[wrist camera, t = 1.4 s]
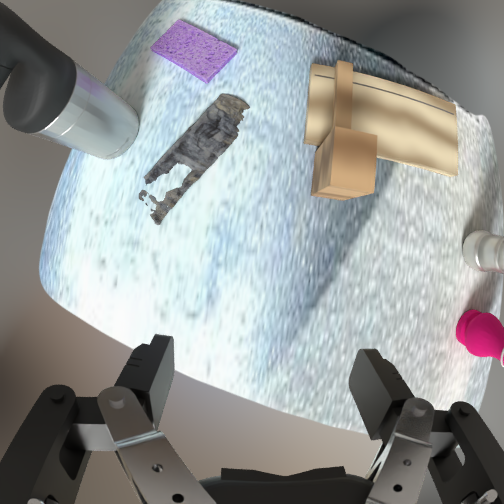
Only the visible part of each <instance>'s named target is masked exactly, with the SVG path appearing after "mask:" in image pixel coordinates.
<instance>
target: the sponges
mask: <svg viewBox="0 0 504 504" xmlns="http://www.w3.org/2000/svg"><path fill="white" fill-rule="evenodd" d="M150 48H151V50H152V51H153V52H155V53H157V54H159V55H161V56H162V57H164V58H166V59H168V60H169V61H171V62H173V63H175V64H176V65H178V66H180V67H181V68H183V69H185V70H186V71H188V72H190V73H191V74H192V75H194V76H195V77H197V78H199V79H200V80H202V81H203V82H205V83H206V84H208V83H209V82H210V81H211V80H212V78H213V77H214V76H215V75H216V74H217V73H218V72H219V71H220V70H221V69H222V68H223V67H224V66H225V65H226V64H227V63H228V62H229V61H230V60H231V59H232V58H233V57H234V56H235V55H236V54H237V49H236V48H234V47H232V46H230V45H228V44H226V43H224V42H223V41H219V40H218V39H217V38H215V37H213V36H212V35H209V34H208V33H205V32H204V31H202V30H200V29H198V28H196V27H194V26H192V25H190V24H188V23H186V22H184V21H182V20H178V21H176V22H175V24H173V25H172V26H171V27H170V28H169V29H168V30H167V32H166V33H165V34H164V35H163V36H162V37H160V39H158V41H156V42H155V43H154V44H153V45H152V46H151V47H150Z"/></svg>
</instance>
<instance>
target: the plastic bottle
mask: <svg viewBox="0 0 504 504" xmlns="http://www.w3.org/2000/svg"><path fill="white" fill-rule="evenodd" d="M463 257H464V259H465V262H466V264H467V265H468V266H469V267H471V268H472V269H474V270H476V271H481V272H488V271H490V272H498V273H502V274H504V236H500V235H495V234H492V233H490V232H487V231H484V230H478V231H474V232H471V233H470V234H469V235H468V236H467V238H466V239H465V241H464V244H463Z"/></svg>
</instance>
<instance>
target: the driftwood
mask: <svg viewBox="0 0 504 504" xmlns="http://www.w3.org/2000/svg"><path fill="white" fill-rule="evenodd" d="M249 108H250V107H249V106H248V105H247V104H246V103H245V102H243V101H242V100H239V99H238V98H235V97H232V96H230V95H227V94H226V95H225V94H221V95H220V96H219V98H218V99H217V100H216V101H215V102H214V103H213V104H212V105H211V106H210V107H209V108H208V109H207V110H206V111H205V112H204V113H203V114H202V115H201V117H200V118H199V119H198V121H197V122H196V123H195V124H194V125H193V126H192V127H189V129H188V130H187V131H186V132H185V134H184V135H183V136H182V137H181V138H180V139H179V140H178V141H177V142H176V143H175V144H174V145H173V146H172V147H171V148H170V149H169V150H168V151H167V153H165V154H164V156H163V157H161V159H160V160H159V161H158V162H157V164H156V165H155V166H154V167H153V169H152V170H151V171H150V172H149V173H148V174H147V175H146V176H145V177H144V179H145V182H146V185H147V184H150V183H152V182H153V181H156V179H157V177H158V176H160V175H162V174H167V173H169V171H170V170H171V169H172V168H173V166H174V165H176V164H177V162H178V164H185V165H186V166H189V167H190V168H191V169H192V171H191V172H190V173H189V174H188V175H187V177H186V178H185V179H184V181H183V184H182V186H181V187H180V188H175V189H173V190H170V191H168V192H166V195H165V198H164V200H163V201H160V202H157V200H156V198H155V197H154V196H152V195H149V198H150V199H151V201H152V202H153V203H155V204H156V205H157V206H156V211H155V210H152V209H151V211H154V213H152V214H150V216H151V217H152V219H153V220H154V221H155V224H157V225H160V224H161V221H162V220H163V218H164V217H165V216H166V214H167V213H168V212H169V210H170V209H172V208H173V207H174V205H175V204H176V203H177V201H178V200H179V199H180V198H181V197H182V195H183V194H184V193H185V192H186V190H187V189H189V187H190V186H191V185H192V184H193V183H194V182H195V181H197V180H198V179H199V178H200V177H201V175H202V174H203V173H205V171H206V170H207V169H208V168H209V167H210V166H211V165H212V164H213V163H214V162H215V161H216V160H217V158H218V157H219V156H220V155H222V154H223V153H224V152H225V150H226V149H227V148H228V147H229V146H230V145H231V144H232V142H233V141H234V140H235V139H236V138H237V136H238V133H237V132H239V129H238V128H237V127H236V126H237V125H238V124H239V123H240V121H241V120H242V121H243V118H244V116H243V115H242V114H241V113H243V110H246V109H249ZM242 117H243V118H242ZM147 193H148V192H146V191H145V190H142V191H141V192H140V193H139V199H140V200H142V201H144V199H143V198H142V196H143V195H144V197H146V195H147ZM148 194H149V193H148ZM146 205H147V203H146ZM147 206H148V205H147ZM167 206H168V207H167Z"/></svg>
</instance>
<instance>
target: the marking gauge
mask: <svg viewBox="0 0 504 504" xmlns="http://www.w3.org/2000/svg"><path fill="white" fill-rule="evenodd" d="M352 94H353V63H349V62H344V61H340V60H338V61H337V64H336V66H335V78H334V100H333V117H332V131H331V132H330V134H329V135H328V136H327V138H326V139H325V140H324V142H323V143H322V144H321V146H320V147H319V148H318V150H317V151H316V152H315V160H314V170H313V179H312V188H311V196H317V197H324V198H330V199H336V200H347V199H351V198H355V197H359V196H363V195H367V194H371V193H374V185H375V172H376V157H377V135H374V134H369V133H365V132H361V131H356V130H351V121H352Z"/></svg>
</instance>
